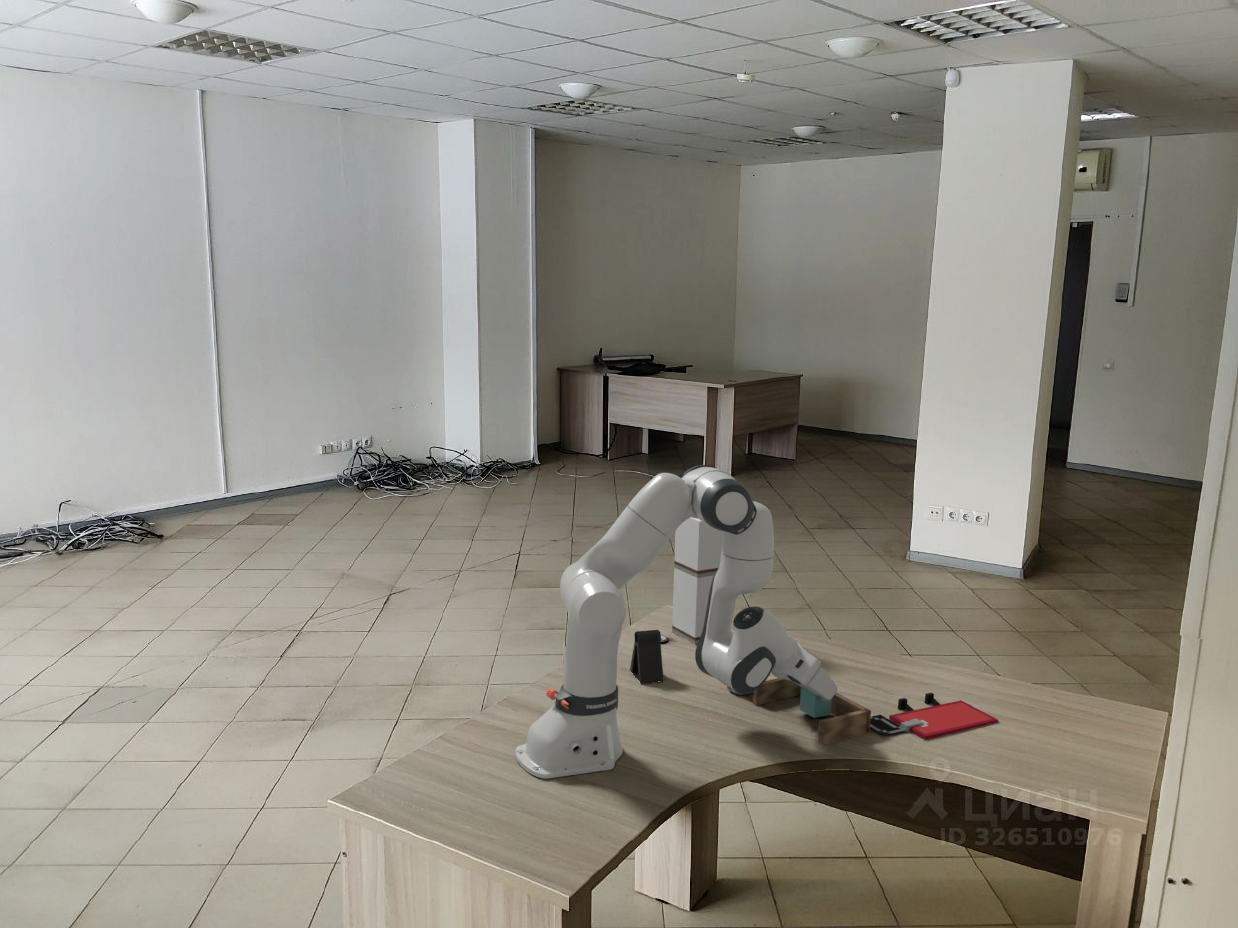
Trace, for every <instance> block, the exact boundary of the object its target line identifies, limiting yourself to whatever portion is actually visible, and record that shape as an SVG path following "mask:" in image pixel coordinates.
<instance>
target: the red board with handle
mask: <svg viewBox="0 0 1238 928" xmlns="http://www.w3.org/2000/svg"><path fill="white" fill-rule="evenodd" d="M897 702H898V703H897V710H898V709H899V711H904V710H905V711H904V712H899V713H894V714H889V716H888V717H889V718H887V717H886V716H883V715H882V714H876V715H871V718H870V728H872V729H873V730H875V731H876V732H878V733H880V734H882V735H884V736H886V735H891V734H895V733H899V732H905V733H909V732H910V733H912V734H913V735H915V736H916V737H918V738H920V739H922V740H923V741H927V740H931V739H936V738H939V737H942V736H943V737H944V736H948V735H952V734H955V733H959V732H963V731H967V730H972V729H976V728H980V727H983V726H988V725H992V724H996V723H999V719H998V718H996V717H994V716H992V715H990V714H988V713H986V712H984V711H982V710H981V709H978V708H977V707H974V706H973V705H971V704H968V703H967V702H965V701H963V700H956V701H952V702H951V701H950V702H947V703H940V702H939V701H938V700H936V699H935V693H933V692H927V693H925V695H924V704H925V705H932V706H928V707H923V708H918V709H914V708H913V707H912V706H911V705H909V704H908V698H906V697H903V698H898V701H897Z"/></svg>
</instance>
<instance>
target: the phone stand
mask: <svg viewBox="0 0 1238 928" xmlns="http://www.w3.org/2000/svg"><path fill="white" fill-rule="evenodd" d="M661 641H662V635H661V631H660V630H659V629H651V630H650V629H649V630H639V631H635V632H634V644H633V649H632V655H631V661H630V667H629V672H630V671H631V672H632V673H633V674H632V673H631V672H630V673H631V674H632V676H633V677H634V676H635V677H634V678H635V679H636V678H637V679H638V680H639V681H640V683H641V684H640V683H639V684H640V685H643V684H642V683H647V684H653V683H652V682H657V683H659V682H658V681H665V680H664V669H663V658H662V647H661V646H662V643H661ZM637 679H636V680H637ZM638 680H637V681H638Z"/></svg>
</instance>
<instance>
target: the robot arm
mask: <svg viewBox="0 0 1238 928" xmlns="http://www.w3.org/2000/svg"><path fill="white" fill-rule="evenodd" d="M690 517H692V518H694V517H695V518H697V519H700V520H701V521H703V522H705V523H707V524H708V525H709V526H711V527H713V528H715V529H717V530H720V531H722V537H723V540H722V552H721V561H720V566H719V569H718V570H717V571H716V572H715V574H714V576H713V579H712V582H711V586H710V591H709V597H708V603H707V609H706V615H705V621H704V626H703V631H702V634H701V637H700V639H699V642H698V644H696V649H695V653H694V654H695V655H694V658H695V662H696V663H695V664H696V666H697V667H698V669H699V670H700V671H701V672H702V673H703V674H705V675H708V676H710V677H712V678H714V679H716V680H717V681H719V682H720V683H721V684H723V685H725V686H726V687H727V686H728V687H730V688H731V689H733V690H734V691H736V692H737V693H740V694H746V695H749V694H752V693H754V691H756V690H757V689H759V688H760V687H761V686H762V685H763V683H764V682H765V681H767V680H768V678H769V677H770V675H773V677H775V678H776V679H777V678H780V679H786V680H790V681H792V682H794V683H796V684H797V685H799V686H800V687H803V688H805V689H807V690H809V691H810V692H812V693H814V694H816V695H817V696H818V697H819V698H821V699H823V700H827V701H830V700H831V698H832V697H833V696H834V695H835V693H838V692H837V691H838V686H837V684H836V683H835V681H834V680H833V678H832V677H831V676H830V675H829V674H828V673H827V671H826V670H825V669H824V668H823V667H822V663H821V661H820V660H819V659H818V658H817V657H816V656H814V655H812V654H811V653H810V652H809V651H807V650H806V649H804V647H803V646H802V644H800V643H799V642H798V641H797V640H796V639H795V638H794V637H793V635H791V634H790V633H788V632H787V631H786V629H785V627H784V625H782V623H781V622H780V621H779V620H778V618H776V617H775V616H774V615H773V614H772V613H770V612H769V610H766V609H765V608H763V607H761V606H755V605H754V606H749V607H746V608H743V609H742V610H740V611H739V612H738V613H737V614H736V615H735V616H734V611H735V605H736V602H737V599H738V597H740V595H741V596H742V595H748V594H754V593H756V592H758V591H760V590H762V589H763V588H764V587H765V586H767V584H768V583H769V582H770V581H771V579H772V578H771V577H772V575H773V572H774V571H773V569H774V559H775V558H774V557H775V555H774V554H775V533H774V532H775V531H774V521H773V515H772V513H771V510H770V509H769V508H768V507H767V506H766V505H764V504H762V503H760V502H758V501H753V499H752V497H751V494H750V492H749V490H748V489H747V488H746V487H745V485H744V484H743V483H742V482H740V481H738V480H737V479H736V478H734V477H733V476H732V475H731V474H729V473H728V472H727V471H724V470H722V469H719V468H717V467H715V466H713V465H708V464H698V465H695V466H692V467H691V468H689V469H686V471H683V472H682V473H680V474H677V475H676V474H673V473H670V472H659V473H658V474H656V475H655V476H653V478H652V479H650V480H649V481H648V482H647V483H646V484H645V485H644V486H643V487H641V489H640V490H639V491H638V492H637V493H636V495H634V497H632V499H631V501H629V503H628V504H627V506H626V507H625V508H624V509H623V511H622V512H621V514H620V515H619V516H618V517H617V519H616V520H615V521H614V523H613V524H612V525H611V527H610V528H609V529H608V530H607V532H606V533H605V534H604V535H603V536H602V538H601V539H599V540H598V541H597V543H595V544H594V545H593V546H592V547H590V549H588V551H586V553H584V554H583V555H582V556H581V557H580V558H579V559H578V560H577V561H576V562H574V563H571V564H570V565H569V566H567V567H566V568H565V570H564V571H563V573H562V575H561V577H560V582H559V594H560V598H561V601H562V602H563V604H564V606H565V607H566V610H567V614H568V616H567V617H568V631H567V638H566V643H565V647H564V649H563V674H562V676H563V677H562V678H563V680H562V681H563V683H562V684H561V687H560V689H559V692H558V690H556V689H555V688H553V687H549V688H548V689H547V690H546V693H545V694H546V696H547V697H548V698H549V699H550V700H551V701H554V700H555V702H554V705H552V706H551V707H550V708H549V709H548V710H547V711H545V713H544V714H542V715H541V716H540V717H539V718H538V719H537V720H536V721H534V722H533V723H532V724H531V725H530V726H529V729H528V731H527V736H526V742H525V743H524V744H521V745H518V746H517V747H516V749H515V753H514V757H515V760H516V762H517V763H518V764H519V765H520V766H521V767H522V768H523V769H524V770H525V771H527V772H528V773H529V774H531V775H533V776H535V777H537V778H541V779H552V778H553V779H554V778H560V777H568V776H574V775H580V774H581V775H582V774H588V773H595V772H602V771H603V772H604V771H610V770H612V769H614V768H615V765H616V762H617V760H618V759H619V758H620V757H621V756H622V754H623V751H624V750H623V746H622V743H621V739H620V734H619V726H618V716H617V711H618V708H619V686H618V685H617V676H618V675H617V674H618V673H617V669H618V667H617V666H618V650H619V644H620V639H621V634H622V628H623V624H624V623H625V621H626V615H627V611H626V603H625V598H624V595H623V593H622V591H621V589H622V588H623V587H624V586H625V585H626V584H627V583H628V582H629V581H631V580H632V579H633V578H634V577H635V576H637V575H638V574H640V573H641V572H644V571H646V570H647V569H649V567H650V566H651V564H653V562H654V560H656V558H657V556H658V555H659V554H660V553H661V552H662V550H663V548H665V546H666V545H667V543H668V542H669V541H670V538H672V537H673V536H674V535H675V531H676V530H677V528H678V527H679V525H681V524H682V523H683V522H684V521H685V520H687V519H689V518H690ZM733 617H734V618H733ZM732 626H733V633H732Z"/></svg>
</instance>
